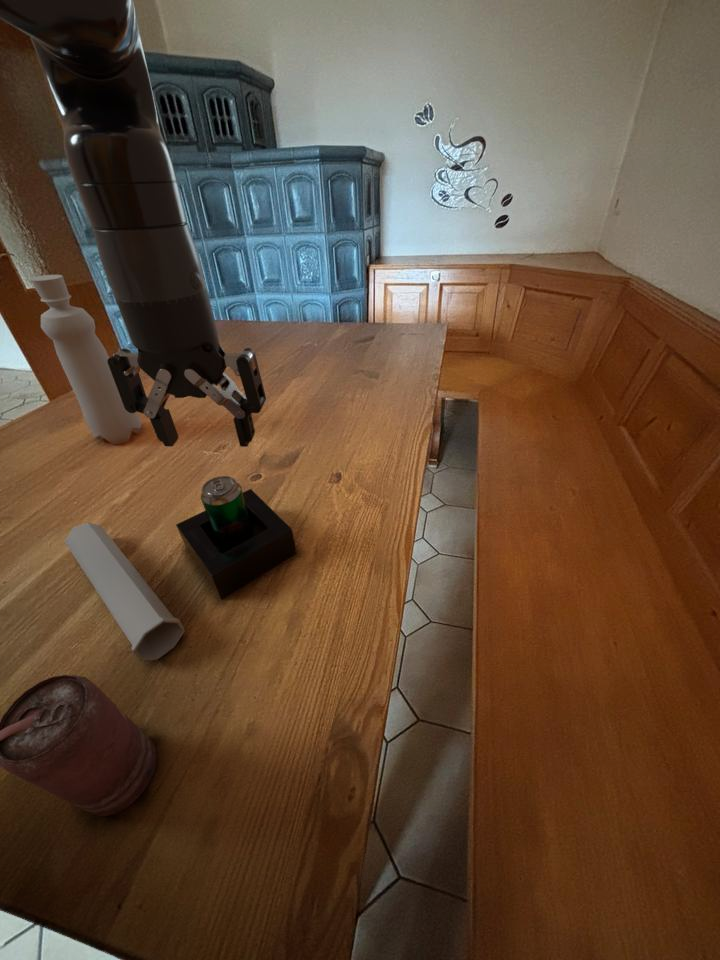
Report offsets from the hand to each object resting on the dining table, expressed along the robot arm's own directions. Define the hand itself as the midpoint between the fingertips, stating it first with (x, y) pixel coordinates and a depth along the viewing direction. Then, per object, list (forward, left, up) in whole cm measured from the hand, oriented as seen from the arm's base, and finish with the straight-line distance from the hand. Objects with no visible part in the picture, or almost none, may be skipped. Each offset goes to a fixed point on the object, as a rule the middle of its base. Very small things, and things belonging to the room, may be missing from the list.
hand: (208, 442), depth 44 cm
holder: (0, +1, -19) cm, 19 cm away
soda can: (0, +1, -19) cm, 19 cm away
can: (-21, -17, -19) cm, 33 cm away
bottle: (-4, +47, -19) cm, 50 cm away
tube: (-15, +5, -19) cm, 25 cm away
